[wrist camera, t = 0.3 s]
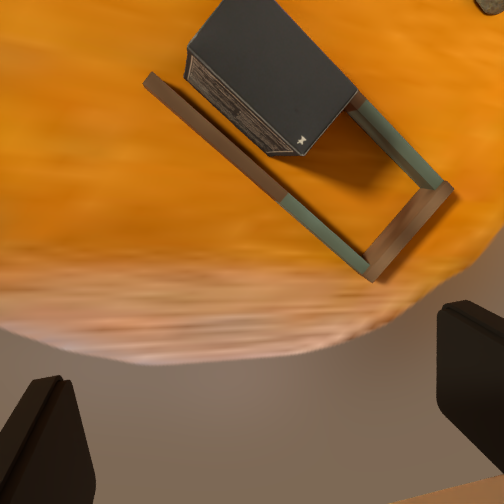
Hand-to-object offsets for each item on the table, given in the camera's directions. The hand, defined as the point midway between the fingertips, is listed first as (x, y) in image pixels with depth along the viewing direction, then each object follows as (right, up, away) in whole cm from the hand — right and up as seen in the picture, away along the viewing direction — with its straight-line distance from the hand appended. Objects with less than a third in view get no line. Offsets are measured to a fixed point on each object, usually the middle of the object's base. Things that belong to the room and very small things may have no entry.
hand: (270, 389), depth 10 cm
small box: (-1, +18, +27) cm, 32 cm away
